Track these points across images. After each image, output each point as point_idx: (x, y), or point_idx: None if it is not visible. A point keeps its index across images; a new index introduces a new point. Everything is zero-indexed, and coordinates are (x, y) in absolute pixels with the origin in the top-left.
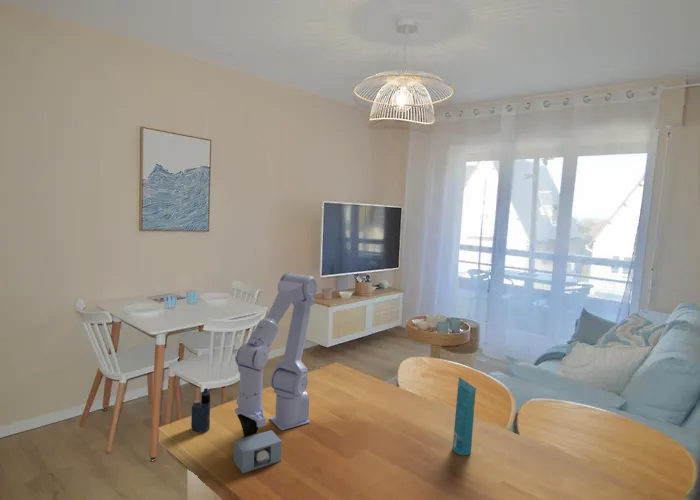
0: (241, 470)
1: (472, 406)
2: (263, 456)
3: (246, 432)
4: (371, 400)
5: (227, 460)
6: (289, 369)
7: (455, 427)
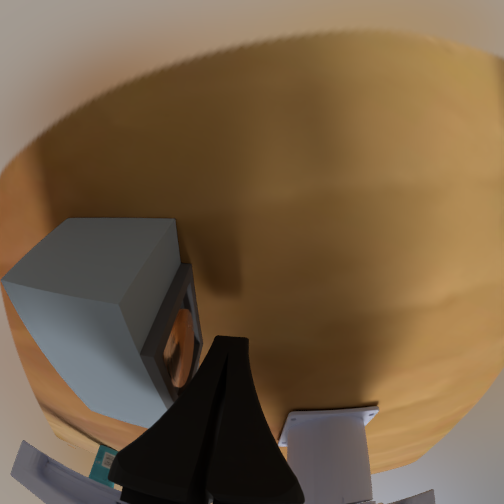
0: (72, 221)
1: None
2: None
3: (179, 396)
4: None
5: (193, 188)
6: None
7: (105, 472)
